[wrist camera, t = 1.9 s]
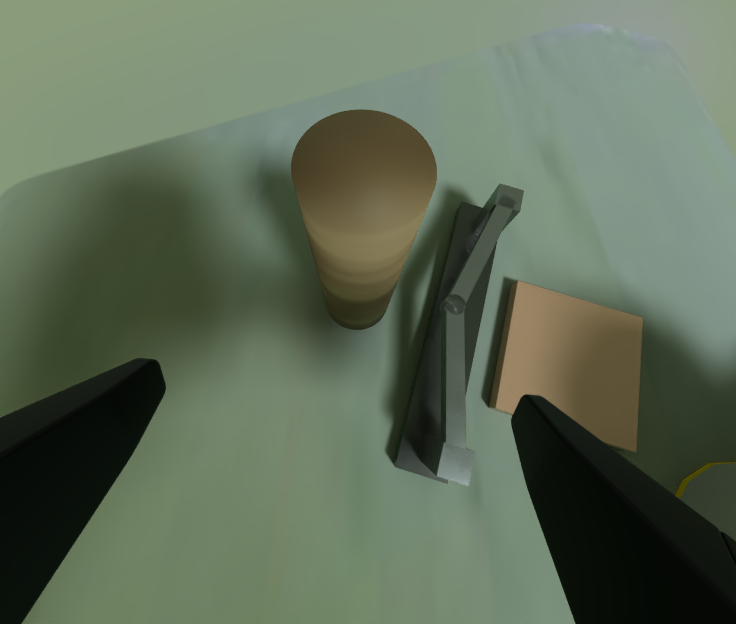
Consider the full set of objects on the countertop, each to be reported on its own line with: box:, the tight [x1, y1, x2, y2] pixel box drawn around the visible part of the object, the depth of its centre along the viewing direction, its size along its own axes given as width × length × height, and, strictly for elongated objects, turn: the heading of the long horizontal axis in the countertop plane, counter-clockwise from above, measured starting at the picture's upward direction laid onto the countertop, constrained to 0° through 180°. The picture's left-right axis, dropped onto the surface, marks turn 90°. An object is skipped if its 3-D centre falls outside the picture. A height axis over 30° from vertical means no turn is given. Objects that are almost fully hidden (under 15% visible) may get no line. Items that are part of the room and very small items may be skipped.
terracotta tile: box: [489, 281, 643, 452], centre depth 21 cm, size 9×9×1 cm
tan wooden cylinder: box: [291, 110, 437, 330], centre depth 16 cm, size 4×4×13 cm
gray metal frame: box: [393, 184, 524, 486], centre depth 19 cm, size 19×3×4 cm, turn 163°
